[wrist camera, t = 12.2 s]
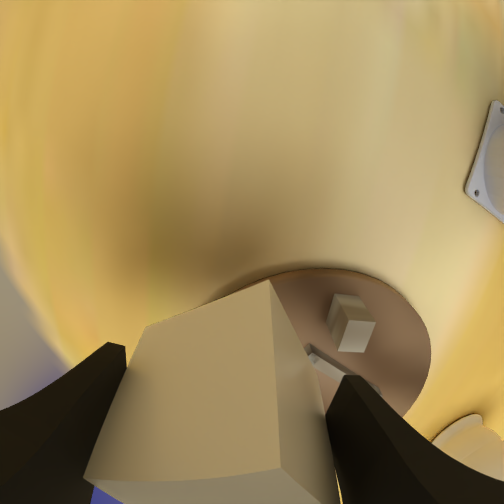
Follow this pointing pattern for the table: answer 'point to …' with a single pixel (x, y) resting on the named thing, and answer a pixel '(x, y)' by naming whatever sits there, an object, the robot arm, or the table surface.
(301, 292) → the turntable
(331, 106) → the table surface
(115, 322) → the table surface
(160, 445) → the beige block
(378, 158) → the table surface
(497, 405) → the table surface
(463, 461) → the jar
